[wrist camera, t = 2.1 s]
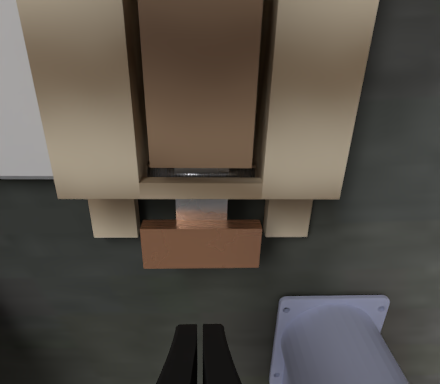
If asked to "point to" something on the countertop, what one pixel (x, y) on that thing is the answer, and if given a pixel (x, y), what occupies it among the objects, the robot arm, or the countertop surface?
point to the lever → (201, 230)
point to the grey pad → (19, 105)
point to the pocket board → (136, 112)
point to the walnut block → (200, 81)
